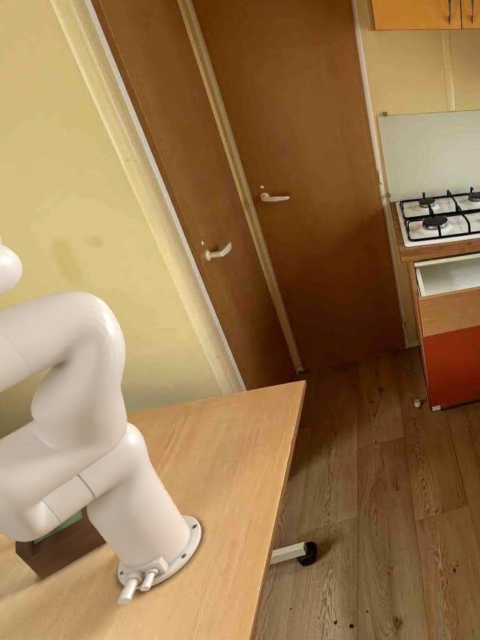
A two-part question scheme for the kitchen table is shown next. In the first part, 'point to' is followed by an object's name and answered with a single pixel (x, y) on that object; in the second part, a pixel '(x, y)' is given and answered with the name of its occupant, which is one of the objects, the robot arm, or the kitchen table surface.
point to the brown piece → (60, 545)
